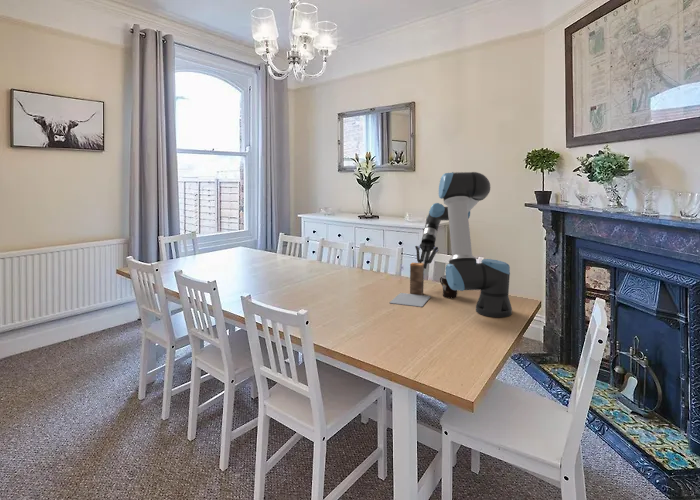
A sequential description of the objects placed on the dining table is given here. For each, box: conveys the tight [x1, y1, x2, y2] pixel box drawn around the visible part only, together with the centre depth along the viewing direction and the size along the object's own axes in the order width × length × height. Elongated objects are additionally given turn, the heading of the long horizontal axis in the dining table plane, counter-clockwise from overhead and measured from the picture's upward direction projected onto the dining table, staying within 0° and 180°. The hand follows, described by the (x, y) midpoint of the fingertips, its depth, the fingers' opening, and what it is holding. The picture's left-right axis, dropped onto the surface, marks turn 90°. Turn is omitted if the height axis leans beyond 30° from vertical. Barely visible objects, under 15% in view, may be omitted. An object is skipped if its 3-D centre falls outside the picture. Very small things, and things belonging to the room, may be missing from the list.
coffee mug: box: [439, 274, 458, 299], centre depth 204 cm, size 12×9×10 cm
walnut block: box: [409, 262, 425, 295], centre depth 207 cm, size 6×4×16 cm, turn 66°
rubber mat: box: [389, 292, 432, 308], centre depth 199 cm, size 16×18×1 cm
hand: (421, 273), depth 215 cm, fingers closed
